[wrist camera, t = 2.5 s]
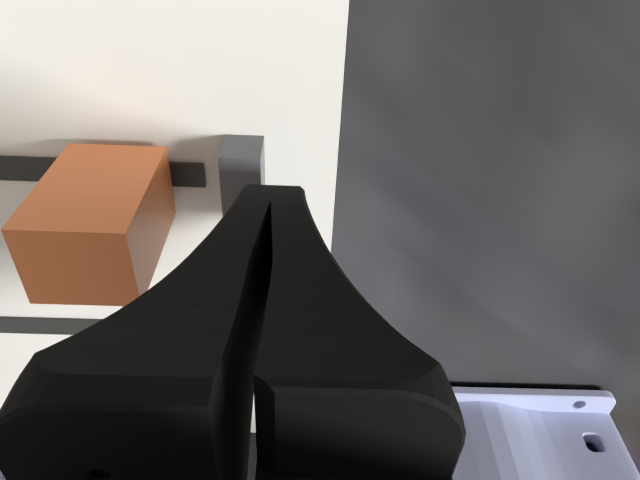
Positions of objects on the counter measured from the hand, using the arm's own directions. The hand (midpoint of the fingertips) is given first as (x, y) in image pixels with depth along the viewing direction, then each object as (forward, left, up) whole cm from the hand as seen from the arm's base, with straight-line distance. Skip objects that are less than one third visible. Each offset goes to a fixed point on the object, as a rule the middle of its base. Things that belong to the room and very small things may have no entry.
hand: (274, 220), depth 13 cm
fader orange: (+4, 0, -2) cm, 4 cm away
